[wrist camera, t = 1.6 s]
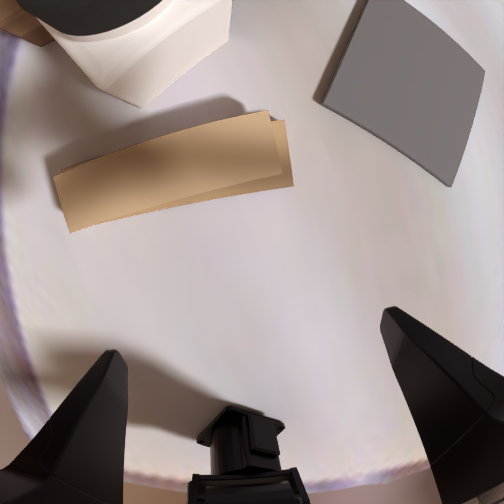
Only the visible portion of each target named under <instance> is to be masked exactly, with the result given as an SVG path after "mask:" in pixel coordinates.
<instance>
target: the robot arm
mask: <svg viewBox="0 0 504 504" xmlns="http://www.w3.org/2000/svg"><path fill="white" fill-rule="evenodd" d="M380 331H381V334H382V337H383V340H384V343H385V346H386V350H387V353H388V356H389V359H390V363H391V366H392V369H393V371H394V374H395V376H396V378H397V381H398V383H399V385H400V388H401V390H402V392H403V395H404V397H405V400H406V402H407V405H408V407H409V410H410V412H411V415H412V417H413V420H414V422H415V425H416V427H417V430H418V433H419V435H420V438H421V441H422V444H423V446H424V449H425V452H426V455H427V458H428V460H429V463H430V467H431V470H432V473H433V476H434V478H435V482H436V485H437V488H438V491H439V494H440V498H441V501H442V504H463V503H465V502H467V501H469V500H471V499H473V498H475V497H477V499H478V502H477V503H476V504H504V376H502V375H500V374H499V373H497V372H495V371H493V370H492V369H490V368H489V367H487V366H485V365H484V364H482V363H481V362H479V361H478V360H476V359H475V358H474V357H471V355H469V354H468V353H466V352H465V351H463V350H462V349H460V348H459V347H457V346H456V345H454V344H453V343H451V342H450V341H448V340H447V339H445V338H444V337H442V336H441V335H439V334H438V333H436V332H435V331H433V330H432V329H430V328H429V327H427V326H426V325H424V324H423V323H421V322H420V321H418V320H417V319H415V318H413V317H412V316H410V315H409V314H407V313H406V312H404V311H403V310H401V309H400V308H398V307H396V306H392V307H388V308H385V309H384V311H383V315H382V319H381V324H380ZM127 411H128V368H127V364H126V363H125V361H124V359H123V358H122V356H121V355H120V353H119V352H118V351H117V350H115V349H113V350H106V351H105V352H104V353H103V354H102V355H101V356H100V357H99V358H98V360H97V361H96V362H95V363H94V364H93V366H92V367H91V368H90V369H89V370H88V372H87V373H86V374H85V375H84V376H83V378H82V379H81V380H80V381H79V382H78V384H77V385H76V386H75V387H74V389H73V390H72V391H71V392H70V393H69V395H68V396H67V397H66V398H65V400H64V401H63V402H62V403H61V405H60V406H59V407H58V408H57V410H56V411H55V412H54V413H53V415H52V416H51V417H50V420H48V421H47V422H46V424H45V425H44V426H43V427H42V429H41V430H40V431H39V432H38V434H37V435H36V436H35V437H34V438H33V439H32V440H31V442H30V443H29V444H28V445H27V446H26V447H25V448H24V449H23V450H22V451H21V452H20V454H19V455H18V456H17V457H16V458H15V459H14V460H13V461H12V462H11V463H10V464H9V465H8V466H7V467H5V468H3V469H1V470H0V504H123V473H124V451H125V435H126V423H127ZM229 411H230V412H229ZM284 429H285V425H284V423H282V422H278V421H275V420H272V419H268V418H265V417H262V416H259V415H256V414H253V413H250V412H247V411H244V410H241V409H238V408H235V407H232V406H228V407H226V408H225V409H224V410H223V411H222V412H221V413H220V414H219V415H218V416H217V417H216V418H215V419H214V420H213V421H212V422H211V423H210V425H209V426H208V427H207V428H206V429H205V430H204V431H203V432H202V433H201V434H200V435H199V436H198V437H197V443H198V444H201V445H204V446H207V447H210V456H211V475H199V474H193V476H192V481H190V482H189V483H188V495H187V502H186V504H310V500H309V497H308V495H307V492H306V490H305V487H304V485H303V482H302V480H301V477H300V475H299V472H298V470H297V467H294V468H290V469H287V470H281V465H280V461H279V455H280V450H279V446H278V441H277V435H278V434H279V433H281V432H282V431H283V430H284Z"/></svg>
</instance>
